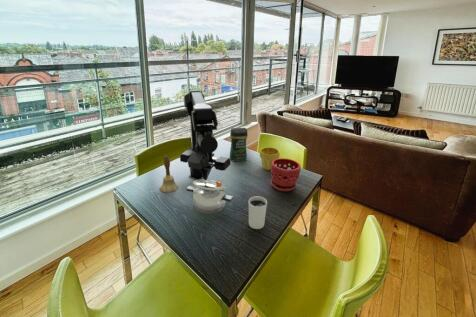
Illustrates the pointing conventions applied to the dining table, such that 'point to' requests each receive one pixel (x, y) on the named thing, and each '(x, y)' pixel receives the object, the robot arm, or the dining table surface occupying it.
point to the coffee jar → (238, 144)
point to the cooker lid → (209, 185)
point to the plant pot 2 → (284, 174)
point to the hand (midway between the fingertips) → (205, 179)
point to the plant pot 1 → (268, 156)
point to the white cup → (257, 212)
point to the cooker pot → (209, 200)
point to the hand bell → (168, 179)
